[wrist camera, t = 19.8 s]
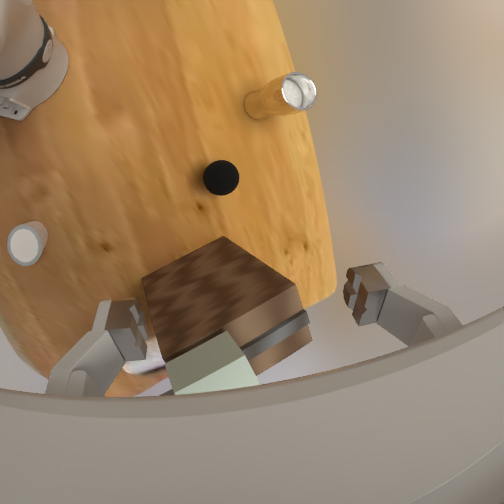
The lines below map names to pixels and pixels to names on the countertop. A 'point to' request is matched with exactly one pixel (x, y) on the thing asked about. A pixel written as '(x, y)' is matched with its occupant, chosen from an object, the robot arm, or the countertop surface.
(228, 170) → the light bulb
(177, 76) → the countertop surface
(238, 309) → the walnut stand
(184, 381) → the grey mallet
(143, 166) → the countertop surface
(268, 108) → the beer glass
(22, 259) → the white short cylinder
